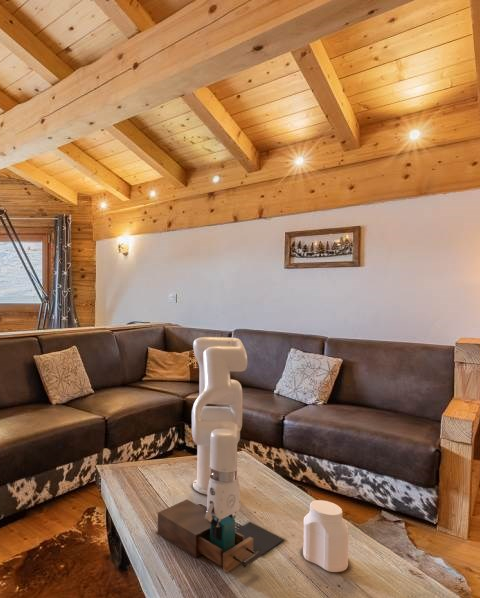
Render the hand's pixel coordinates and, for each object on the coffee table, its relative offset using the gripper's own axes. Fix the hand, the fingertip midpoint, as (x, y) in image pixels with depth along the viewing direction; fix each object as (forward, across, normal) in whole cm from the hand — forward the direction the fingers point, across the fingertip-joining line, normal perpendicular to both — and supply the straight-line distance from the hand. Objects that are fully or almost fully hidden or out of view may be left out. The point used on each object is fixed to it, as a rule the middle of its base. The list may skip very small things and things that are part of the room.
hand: (222, 534), depth 123 cm
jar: (+6, +22, -19) cm, 30 cm away
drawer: (+5, 0, -1) cm, 5 cm away
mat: (+6, +15, -1) cm, 16 cm away
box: (+3, 0, 0) cm, 3 cm away
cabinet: (+6, 0, +12) cm, 13 cm away
